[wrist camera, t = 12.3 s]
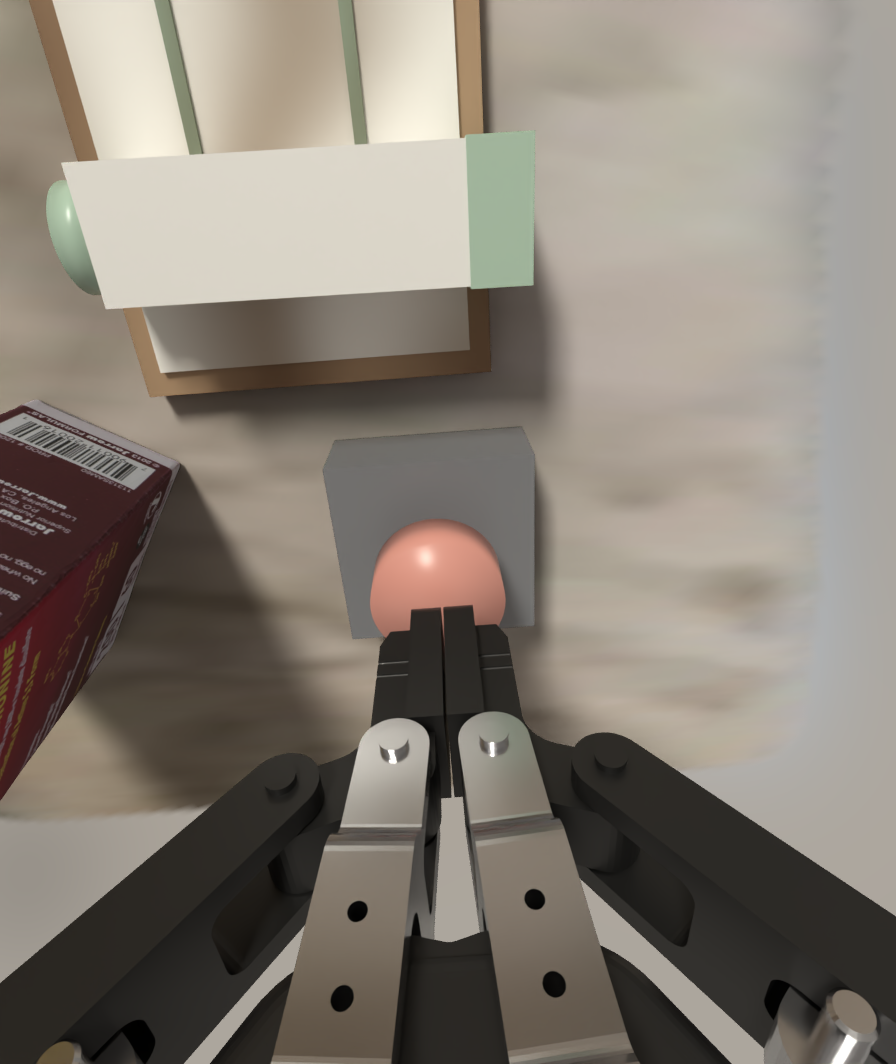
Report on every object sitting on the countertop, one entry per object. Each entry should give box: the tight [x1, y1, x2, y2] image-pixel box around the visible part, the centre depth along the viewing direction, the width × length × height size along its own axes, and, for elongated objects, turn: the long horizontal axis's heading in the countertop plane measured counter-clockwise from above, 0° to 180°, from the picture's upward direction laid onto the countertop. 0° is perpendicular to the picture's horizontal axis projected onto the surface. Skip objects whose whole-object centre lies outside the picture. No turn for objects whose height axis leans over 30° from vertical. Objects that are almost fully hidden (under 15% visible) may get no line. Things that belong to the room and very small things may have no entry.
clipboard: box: [29, 0, 491, 397], centre depth 14 cm, size 10×14×1 cm
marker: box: [46, 130, 535, 309], centre depth 14 cm, size 3×3×10 cm
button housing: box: [323, 427, 535, 639], centre depth 19 cm, size 6×6×2 cm
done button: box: [370, 519, 506, 646], centre depth 16 cm, size 4×4×2 cm
